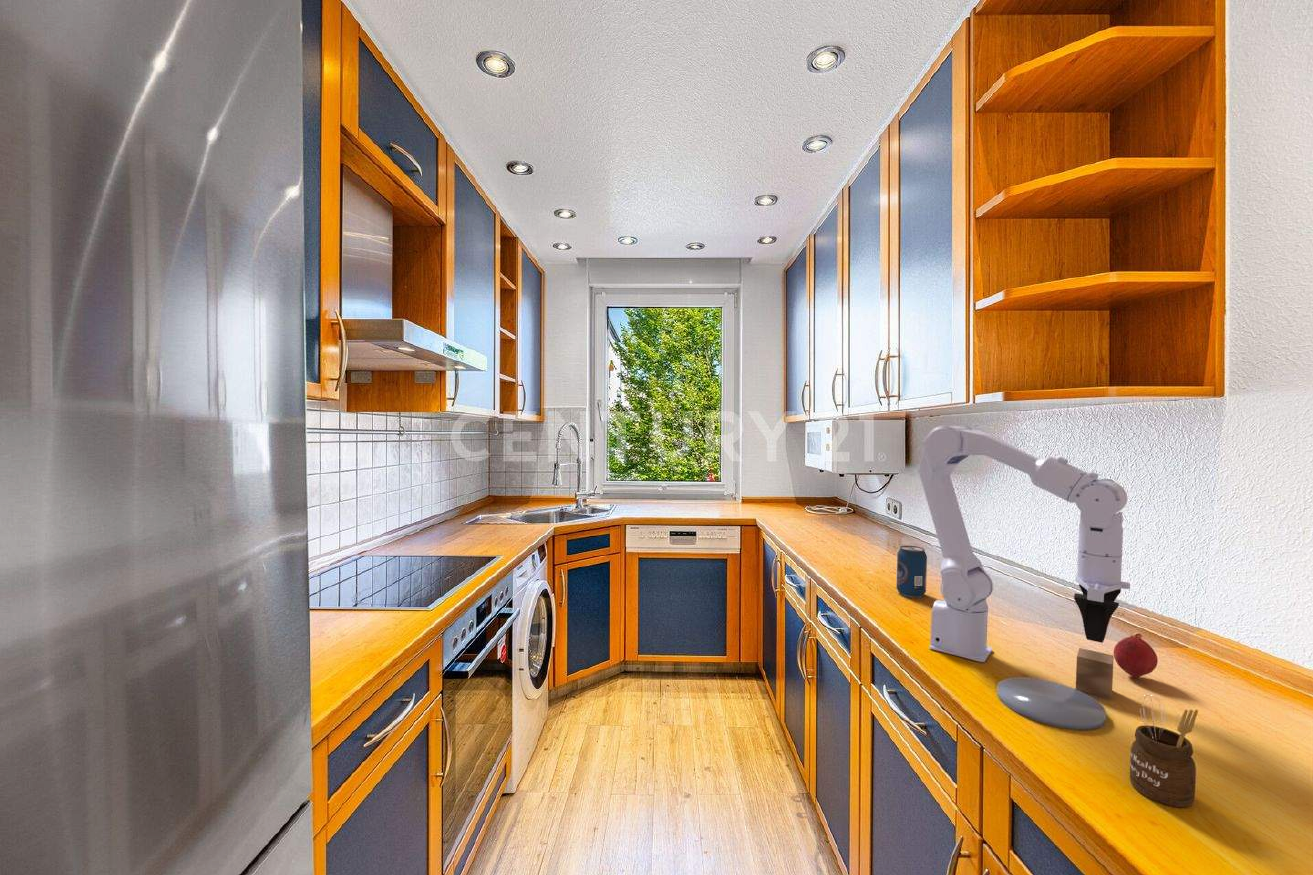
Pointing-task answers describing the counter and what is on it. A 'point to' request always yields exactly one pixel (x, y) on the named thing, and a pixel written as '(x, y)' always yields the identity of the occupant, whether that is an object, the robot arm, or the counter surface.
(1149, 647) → the onion
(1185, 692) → the counter surface
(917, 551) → the soda can
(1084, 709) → the plate
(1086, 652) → the walnut stool block
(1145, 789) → the utensil holder
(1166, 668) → the counter surface
